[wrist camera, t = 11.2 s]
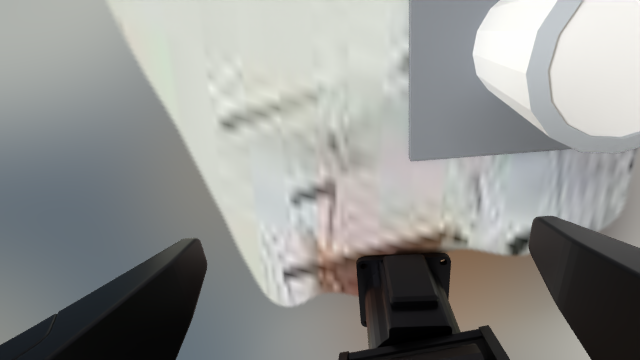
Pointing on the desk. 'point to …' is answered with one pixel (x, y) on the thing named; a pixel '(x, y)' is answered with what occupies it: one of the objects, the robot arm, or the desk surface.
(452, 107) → the coaster mat
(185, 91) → the desk surface
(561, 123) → the white faceted cylinder
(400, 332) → the robot arm
